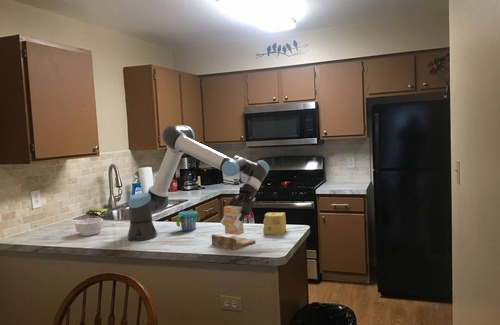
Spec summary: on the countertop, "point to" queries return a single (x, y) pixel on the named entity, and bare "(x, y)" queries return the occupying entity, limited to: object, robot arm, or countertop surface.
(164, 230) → the countertop surface
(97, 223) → the paper bowls
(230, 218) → the supplement box
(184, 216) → the snack cup
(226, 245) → the mounting block
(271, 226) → the cheese
